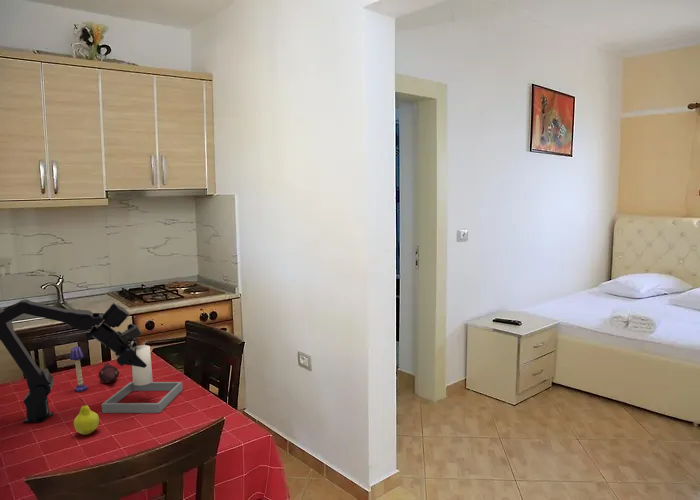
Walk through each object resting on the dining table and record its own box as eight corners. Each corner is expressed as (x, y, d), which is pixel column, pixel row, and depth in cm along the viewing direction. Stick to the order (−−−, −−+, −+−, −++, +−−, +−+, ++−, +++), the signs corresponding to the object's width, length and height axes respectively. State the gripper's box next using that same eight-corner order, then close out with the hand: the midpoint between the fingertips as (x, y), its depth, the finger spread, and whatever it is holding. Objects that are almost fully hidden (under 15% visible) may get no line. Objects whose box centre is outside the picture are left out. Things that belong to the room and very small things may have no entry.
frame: (159, 412, 175) (158, 404, 174) (102, 412, 176) (101, 404, 176) (182, 389, 195) (182, 382, 194) (130, 389, 196) (130, 382, 196)
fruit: (94, 426, 166) (90, 390, 165) (104, 432, 162) (100, 395, 161) (71, 434, 161) (67, 397, 160) (81, 440, 157) (77, 402, 155)
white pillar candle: (147, 385, 181) (144, 350, 180) (129, 385, 182) (127, 350, 180) (155, 378, 187) (153, 345, 186) (138, 378, 188) (135, 345, 186)
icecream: (123, 368, 201) (116, 362, 213) (103, 368, 196) (97, 361, 209) (120, 387, 200) (113, 379, 212) (99, 386, 196) (93, 378, 208)
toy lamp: (83, 392, 194) (78, 349, 192) (70, 392, 195) (66, 349, 192) (89, 387, 199) (85, 345, 197) (77, 387, 199) (73, 345, 197)
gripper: (125, 325, 172) (162, 353, 177) (126, 313, 189) (160, 338, 194) (100, 352, 170) (139, 379, 175) (104, 337, 187) (139, 362, 192)
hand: (145, 363), depth 184 cm, fingers closed on white pillar candle, 6 cm apart
